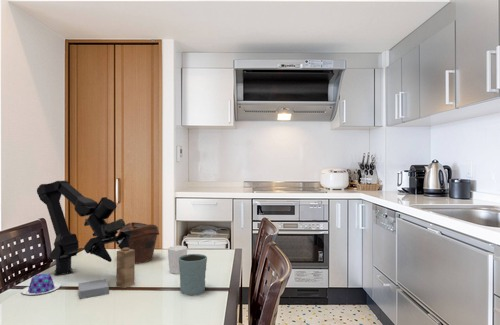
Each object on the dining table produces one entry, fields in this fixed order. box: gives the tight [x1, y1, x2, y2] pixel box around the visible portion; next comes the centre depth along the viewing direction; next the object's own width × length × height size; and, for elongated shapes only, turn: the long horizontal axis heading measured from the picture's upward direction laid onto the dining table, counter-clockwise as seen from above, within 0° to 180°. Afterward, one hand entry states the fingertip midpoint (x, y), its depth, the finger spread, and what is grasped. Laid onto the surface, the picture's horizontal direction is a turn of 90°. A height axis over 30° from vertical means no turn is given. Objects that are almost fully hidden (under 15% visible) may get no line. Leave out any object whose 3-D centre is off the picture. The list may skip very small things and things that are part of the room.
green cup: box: [179, 253, 208, 296], centre depth 117 cm, size 10×10×12 cm
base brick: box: [78, 278, 110, 299], centre depth 116 cm, size 9×9×2 cm
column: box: [115, 248, 136, 289], centre depth 122 cm, size 4×4×14 cm
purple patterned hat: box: [21, 272, 62, 296], centre depth 118 cm, size 12×12×5 cm
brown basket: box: [117, 221, 161, 264], centre depth 156 cm, size 18×20×18 cm
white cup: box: [167, 245, 188, 275], centre depth 139 cm, size 8×8×10 cm
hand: (120, 258), depth 124 cm, fingers open, 9 cm apart
